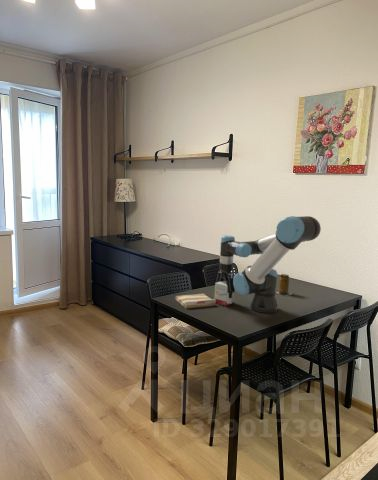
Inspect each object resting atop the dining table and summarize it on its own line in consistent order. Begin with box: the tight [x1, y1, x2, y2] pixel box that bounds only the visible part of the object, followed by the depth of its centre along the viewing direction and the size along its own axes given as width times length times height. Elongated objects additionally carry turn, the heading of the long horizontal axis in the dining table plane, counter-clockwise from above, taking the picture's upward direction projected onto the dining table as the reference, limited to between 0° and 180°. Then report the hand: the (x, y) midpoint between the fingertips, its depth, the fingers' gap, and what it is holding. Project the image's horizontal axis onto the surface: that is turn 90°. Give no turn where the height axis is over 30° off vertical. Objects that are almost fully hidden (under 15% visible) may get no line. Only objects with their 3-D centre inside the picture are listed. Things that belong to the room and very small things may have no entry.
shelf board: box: [174, 293, 217, 309], centre depth 211 cm, size 16×18×3 cm
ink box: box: [213, 280, 235, 306], centre depth 213 cm, size 9×9×12 cm
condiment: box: [275, 273, 293, 297], centre depth 236 cm, size 7×8×12 cm
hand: (223, 300), depth 213 cm, fingers closed on ink box, 11 cm apart
